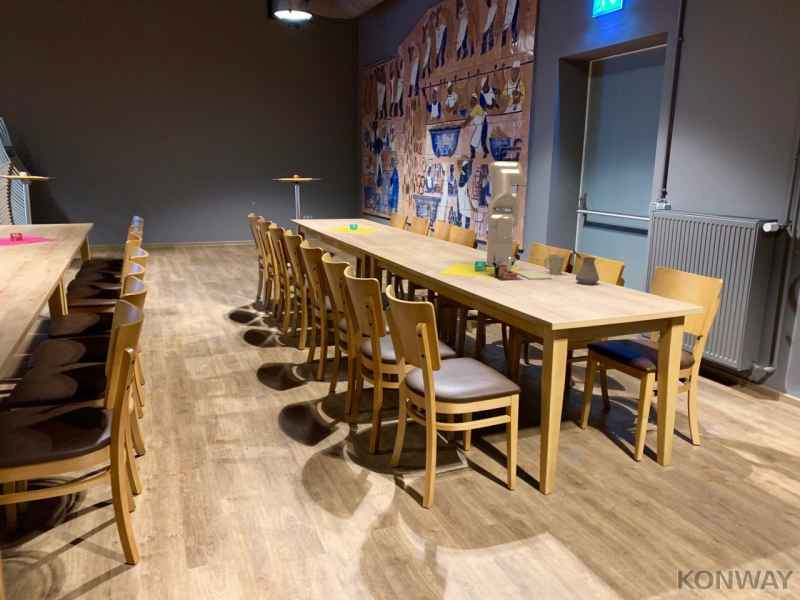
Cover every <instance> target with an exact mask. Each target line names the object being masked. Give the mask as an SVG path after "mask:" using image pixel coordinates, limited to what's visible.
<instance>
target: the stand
mask: <svg viewBox="0 0 800 600" xmlns="http://www.w3.org/2000/svg"><path fill="white" fill-rule="evenodd" d="M511 263H512V257H508V263H507V262H506V265H507V273H511V271H512V267H511ZM487 275H488V276H490V277H492V278H494V279H496V280H498V281H501V282H504V281H505V282H506V281H508V282H509V281H510V280H506V279H504V278H502V277H500V276H497V275H495V273H487ZM514 281H525V278H522V277H520V276H519V277H518V276H517V279H515V280H514Z"/></svg>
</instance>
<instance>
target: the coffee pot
mask: <svg viewBox="0 0 800 600" xmlns="http://www.w3.org/2000/svg"><path fill="white" fill-rule="evenodd" d="M571 252H572V253H573V254H575V256H576V257H577V258H578V259H579V260H581V262H582V264H581V266H580V268H579V270H578V272H577V273H576V276H575V279H576V281H577V282H578V284H582V285H588V286H590V285H595V284H596V283H598V281H600V276H599V273H598V270H597V267H596V264H595V260H596V257H591V256H584V257H581V255H580V254H579V253H578V252H577V251H576V250H575V249H571Z"/></svg>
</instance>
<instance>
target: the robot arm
mask: <svg viewBox="0 0 800 600" xmlns="http://www.w3.org/2000/svg"><path fill="white" fill-rule="evenodd" d="M522 168H523V167H522V165H521V163H520V162H518V161H507V160H506V161H504V160H503V161H501V160H500V161H499V160H495V161H492V162H489V164H488V173H489V177H490V180H491V181H490V182H491V193H490V202H489V204H488V206H487V211H486V224H487V250H486V261H485V262H486V263H487V266H486V267H490V268H494V273H493V274H496V275H498V274H499V268H498V266H499V265H507V263H508V257H512V263H511V268H512V266H514V265H515V263H516V262H517V261H518V260H517V258H516V257H515V255H514V254H515V253H514V244H513V241H514V240H515V238H514V237H513V229H514V228H516V227H518V225H519V218H520V216H519V215H520V214H519V213H520V195H519V193H517V192H516V191H512V189H513V188H512V185H514V186H515V185H516V186H518V185H521V184H522V183H523V180H524V172H523V169H522ZM493 209H501V210H493ZM503 209H509V210H503Z"/></svg>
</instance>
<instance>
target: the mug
mask: <svg viewBox="0 0 800 600" xmlns="http://www.w3.org/2000/svg"><path fill="white" fill-rule="evenodd" d="M547 261H548V266H547V264H546V263H547ZM564 261H565V255H562V254H548V256H547V257H545V259H544V261H543V266H544V267H545V268H546V270H549V271H548V272H549V274H550V275H556V276H557V275H559V276H560V275H562V271H563V267H564V266H563V265H564Z"/></svg>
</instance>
